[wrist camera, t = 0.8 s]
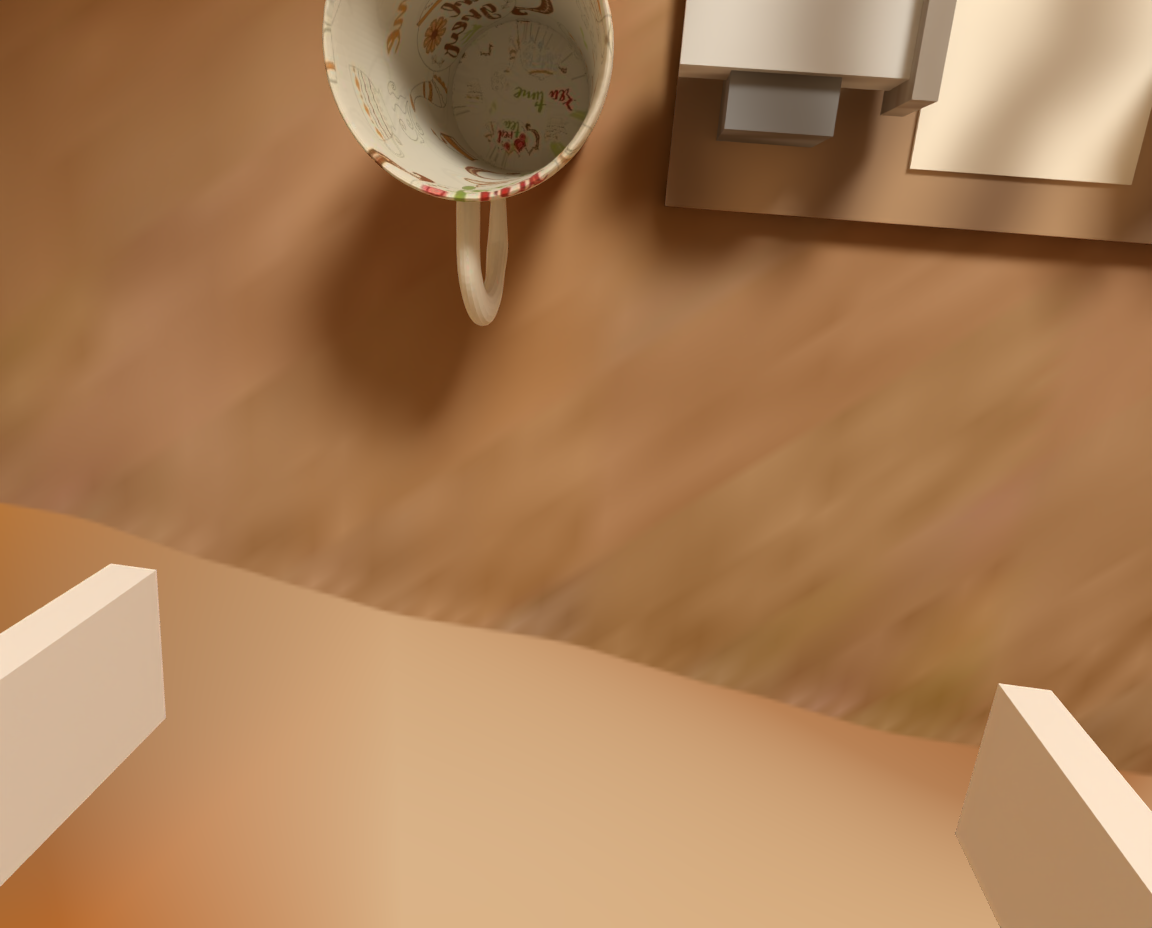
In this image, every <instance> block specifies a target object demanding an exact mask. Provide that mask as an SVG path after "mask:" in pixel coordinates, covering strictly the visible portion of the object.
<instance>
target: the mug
mask: <svg viewBox="0 0 1152 928" xmlns="http://www.w3.org/2000/svg"><path fill="white" fill-rule="evenodd" d="M613 52H614V36H613V24H612V16H611V11H610V6H609V1H608V0H326V2H325V7H324V17H323V53H324V62H325V67H326V72H327V77H328V82H329V85H330V88H331V91H332V94H333V97H334V100H335V102H336V105H337V107H338V109H339V112H340V114H341V116H342V118H343V120H344V121H345V123H346V125H347V127H348V128H349V130H350V131H351V133H352V135H353V136H354V138H355V139H356V140H357V142H358V143H359V144H360V146H361V147H362V148H363V149H364V150H365V152H366V153H367V154H368V155H369V156H370V157H371V158H372V159H373V160H374V161H375V162H376V163H377V164H378V165H379V166H380V167H381V168H383V169H384V170H385V171H387V172H388V173H389V174H390V175H392V176H393V177H395V178H396V179H398V180H399V181H401V182H402V183H404V184H406V185H408V186H410V187H412V188H414V189H416V190H418V191H420V192H423V193H425V194H428V195H431V196H434V197H438V198H442V199H447V200H452V201H456V252H457V270H458V278H459V284H460V289H461V294H462V298H463V301H464V305H465V308H466V310H467V313H468V315H469V317H470V318H471V319H472V321H473V322H474V323H475V324H477V325H480V326H485V325H489V324H490V323H491V322H492V321H493V320H494V318H495V316H496V314H497V312H498V309H499V306H500V303H501V299H502V294H503V286H504V276H505V269H506V263H507V256H508V229H507V210H506V198H507V197H511V196H514V195H517V194H520V193H523V192H525V191H527V190H529V189H531V188H533V187H536V186H537V185H539V184H541V183H542V182H544V181H546V180H547V179H549V178H550V177H551V176H553V175H554V174H555V173H557V172H558V171H559V170H560V169H561V168H563V167H564V166H565V165H566V164H567V163H568V162H569V161H570V160H571V159H572V158H573V157H574V156H575V155H576V153H577V152H578V151H579V150H580V148H581V147H582V146H583V144H584V143H585V141H586V139H587V138H588V136H589V135H590V133H591V131H592V130H593V128H594V126H595V124H596V122H597V120H598V118H599V115H600V113H601V110H602V108H603V105H604V102H605V99H606V96H607V92H608V88H609V84H610V79H611V73H612V66H613ZM486 201H491V204H490V219H489V233H488V242H487V251H486V277H485V282H484V283H483V278H482V272H481V261H480V202H486Z"/></svg>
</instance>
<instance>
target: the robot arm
mask: <svg viewBox="0 0 1152 928" xmlns="http://www.w3.org/2000/svg"><path fill="white" fill-rule="evenodd" d="M159 618H160V617H159V601H158V585H157V570H153V569H146V568H139V567H132V566H124V565H117V564H110V565H108V566H106V567H105V568H103V569H102V570H100V571H99V572H97V573H95V574H94V575H92V576H91V577H89V578H88V579H86V580H84V581H83V582H81V583H80V584H78V585H76V586H75V587H73V588H72V589H70V590H68V591H67V592H65V593H64V594H62V595H61V596H59V597H57V598H56V599H54V600H53V601H51V602H50V603H48V604H46V605H45V606H43V607H42V608H40V609H39V610H37V611H35V612H34V613H32V614H31V615H29V616H28V617H26V618H24V619H23V620H21V621H20V622H18V623H16V624H15V625H13V626H12V627H10V628H9V629H7V630H5V631H4V632H2V633H1V634H0V886H1V885H2V884H3V883H4V882H5V881H6V880H7V879H8V878H9V877H10V876H11V875H12V874H13V873H14V872H15V871H16V870H17V869H18V868H19V867H20V866H21V864H23V863H24V862H25V861H26V860H27V859H28V858H29V857H30V855H32V854H33V852H34V851H36V849H37V848H38V847H39V846H40V845H41V844H42V843H43V842H44V841H45V840H46V839H47V838H48V837H49V836H50V835H51V834H52V833H53V832H54V831H55V830H56V829H57V828H58V827H59V826H60V825H61V824H62V823H63V822H64V821H65V820H66V819H67V818H68V817H69V816H70V815H71V814H72V813H73V812H74V811H75V810H76V809H77V808H78V807H79V806H80V805H81V804H82V803H83V802H84V801H85V800H86V799H87V798H88V796H90V794H92V792H93V791H94V790H95V789H96V788H97V787H98V786H99V785H100V784H101V783H102V782H103V781H104V780H105V779H106V778H107V777H108V776H109V775H110V774H111V773H112V772H113V771H114V770H115V769H116V768H117V767H118V766H119V765H120V764H121V763H122V762H123V761H124V760H125V759H126V758H127V757H128V756H129V755H130V754H131V753H132V752H133V751H134V750H135V749H136V748H137V747H138V746H139V745H140V744H141V743H142V742H143V741H144V740H145V739H146V738H147V736H148V735H149V734H150V733H151V732H152V731H153V730H154V729H155V728H156V727H157V726H158V725H159V724H160V723H161V722H162V721H163V720H164V719H165V718H166V714H165V697H164V682H163V666H162V649H161V633H160V619H159ZM955 835H956V837H957V839H958V841H959V843H960V845H961V847H962V849H963V851H964V853H965V856H966V858H967V860H968V862H969V864H970V865H971V868H972V870H973V872H974V874H975V876H976V878H977V880H978V883H979V885H980V887H981V889H982V891H983V893H984V895H985V897H986V899H987V901H988V903H989V905H990V908H991V909H992V911H993V914H994V916H995V918H996V920H997V922H998V924H999V926H1000V928H1152V811H1151V810H1150V809H1149V808H1148V807H1147V806H1146V804H1145V803H1144V802H1143V801H1142V799H1141V798H1140V797H1139V796H1138V795H1137V794H1136V793H1135V791H1134V790H1133V789H1132V787H1131V786H1130V785H1129V784H1128V783H1127V782H1126V781H1125V779H1124V778H1123V777H1122V775H1121V774H1120V773H1119V772H1118V770H1117V769H1116V768H1115V767H1114V766H1113V764H1112V763H1111V762H1110V761H1109V760H1108V758H1107V757H1106V756H1105V755H1104V754H1103V752H1102V751H1101V750H1100V749H1099V748H1098V746H1097V745H1096V744H1095V743H1094V742H1093V740H1092V739H1091V738H1090V737H1089V735H1088V734H1087V733H1086V732H1085V731H1084V729H1083V728H1082V727H1081V726H1080V725H1079V723H1078V722H1077V721H1076V720H1075V719H1074V717H1073V716H1072V715H1071V714H1070V713H1069V711H1068V710H1067V709H1066V708H1065V707H1064V705H1063V704H1062V703H1061V702H1060V701H1059V699H1058V698H1057V697H1056V696H1055V695H1054V693H1053V692H1052V691H1051V690H1044V689H1036V688H1029V687H1021V686H1014V685H1006V684H999V683H998V687H997V690H996V694H995V697H994V701H993V704H992V708H991V711H990V715H989V718H988V722H987V725H986V728H985V732H984V735H983V739H982V742H981V746H980V749H979V753H978V756H977V760H976V763H975V767H974V770H973V773H972V777H971V780H970V784H969V787H968V791H967V794H966V798H965V801H964V805H963V808H962V811H961V815H960V818H959V822H958V825H957V829H956V832H955Z"/></svg>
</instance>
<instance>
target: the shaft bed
mask: <svg viewBox="0 0 1152 928" xmlns="http://www.w3.org/2000/svg"><path fill="white" fill-rule="evenodd" d="M665 206H669V207H682V208H695V209H708V210H720V211H733V212H746V213H759V214H771V215H784V216H797V217H810V218H822V219H835V220H848V221H860V222H873V223H886V224H899V225H911V226H924V227H937V228H950V229H962V230H975V231H988V232H1000V233H1013V234H1026V235H1039V236H1051V237H1064V238H1077V239H1090V240H1102V241H1115V242H1128V243H1141V244H1152V0H686V4H685V13H684V23H683V33H682V42H681V52H680V62H679V72H678V81H677V91H676V101H675V110H674V120H673V130H672V139H671V149H670V159H669V168H668V178H667V188H666V198H665Z"/></svg>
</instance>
